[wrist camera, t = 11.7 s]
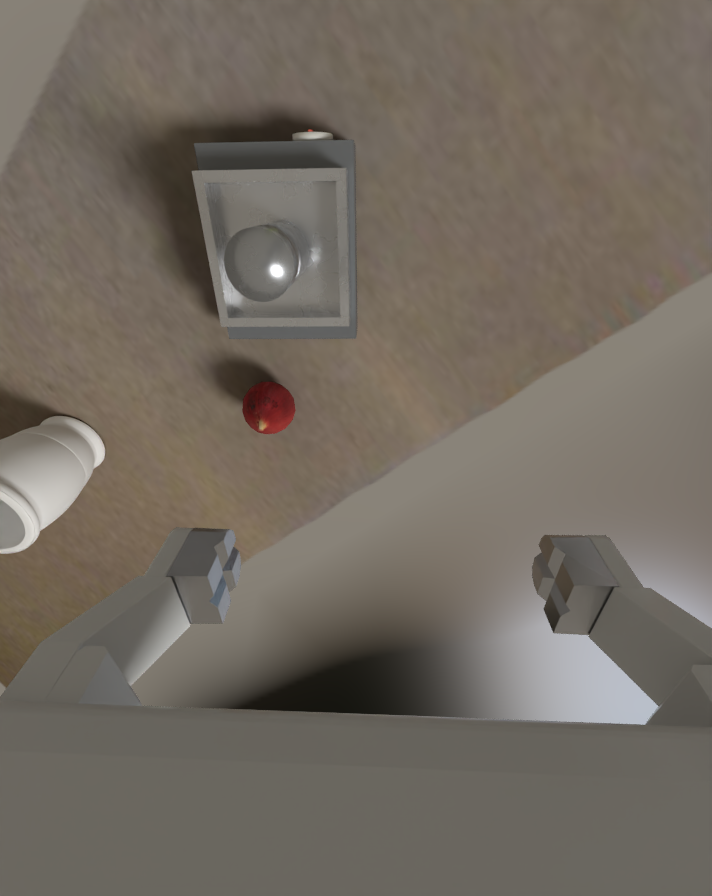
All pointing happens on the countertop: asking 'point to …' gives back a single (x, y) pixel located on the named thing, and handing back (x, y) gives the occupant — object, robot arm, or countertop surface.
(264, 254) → the grey cylinder
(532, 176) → the countertop surface
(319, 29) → the countertop surface
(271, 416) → the onion
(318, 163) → the scale
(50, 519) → the jar
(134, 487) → the countertop surface
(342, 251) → the pan
